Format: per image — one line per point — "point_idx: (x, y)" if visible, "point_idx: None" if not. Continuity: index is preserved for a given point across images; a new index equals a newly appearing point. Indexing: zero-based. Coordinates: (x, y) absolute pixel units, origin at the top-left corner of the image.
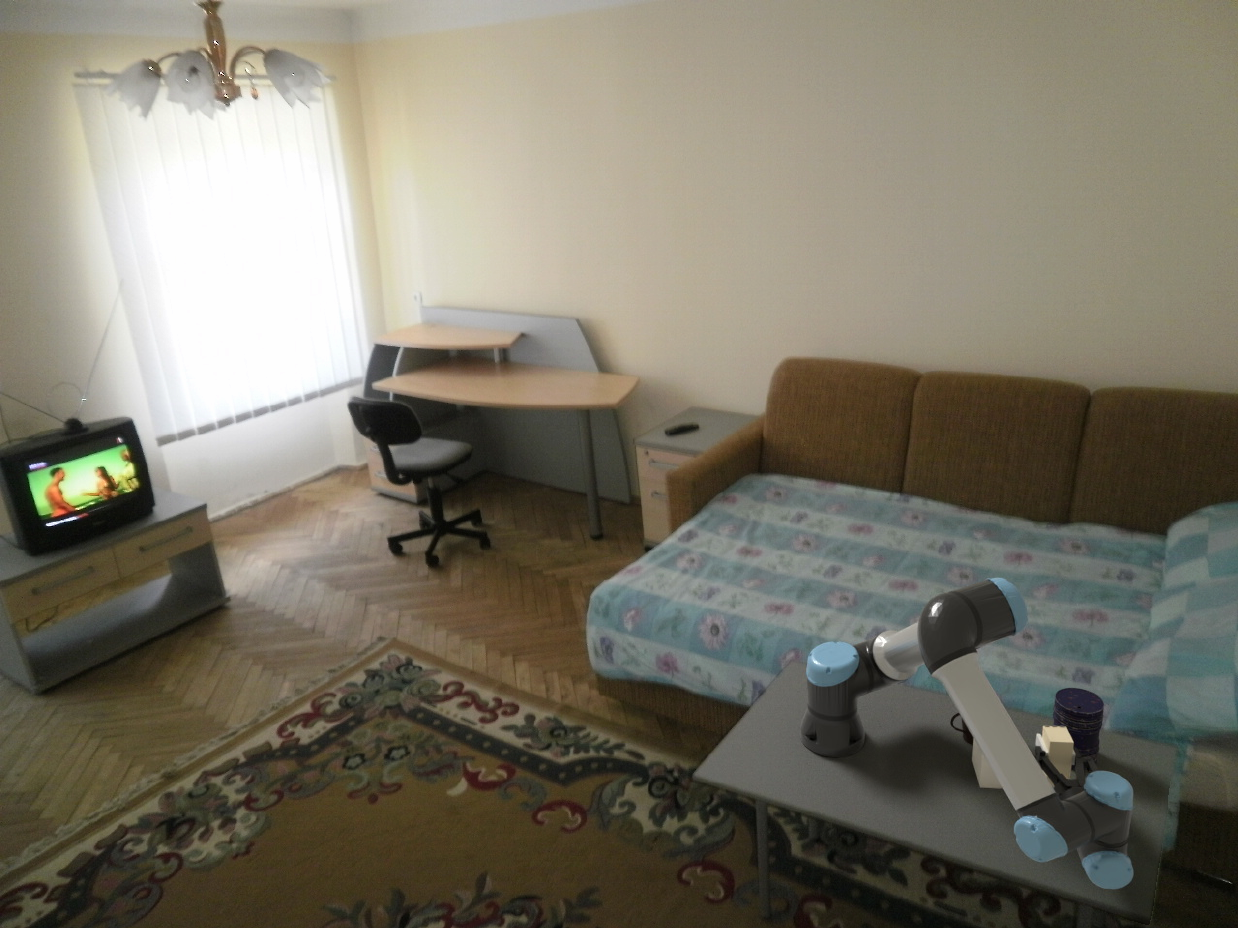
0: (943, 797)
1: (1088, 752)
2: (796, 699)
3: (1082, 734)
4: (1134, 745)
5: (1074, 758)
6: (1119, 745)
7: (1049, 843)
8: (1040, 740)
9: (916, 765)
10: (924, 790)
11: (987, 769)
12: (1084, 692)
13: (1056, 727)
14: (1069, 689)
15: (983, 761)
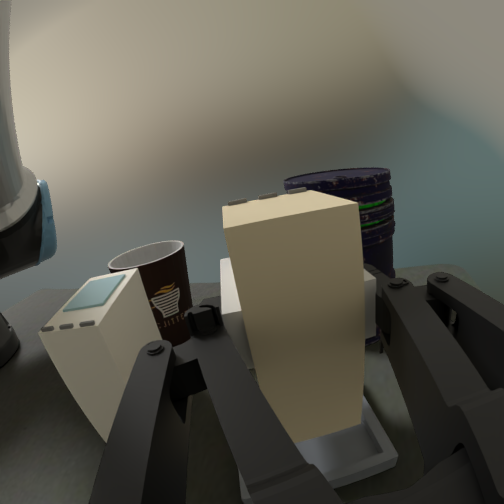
0: (25, 475)
1: None
2: None
3: (364, 248)
4: (428, 273)
5: (374, 304)
6: (411, 279)
7: None
8: (225, 274)
9: (34, 399)
10: (7, 453)
11: (97, 411)
12: (342, 171)
13: (275, 198)
14: (313, 174)
15: (71, 389)
